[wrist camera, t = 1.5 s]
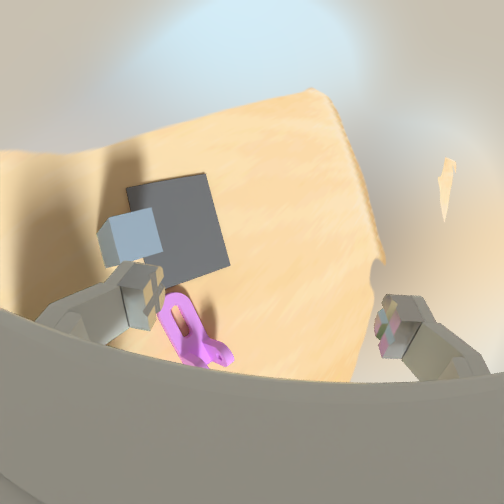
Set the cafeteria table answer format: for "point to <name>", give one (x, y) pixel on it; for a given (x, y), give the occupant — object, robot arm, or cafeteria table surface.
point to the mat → (182, 227)
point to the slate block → (128, 237)
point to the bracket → (191, 335)
